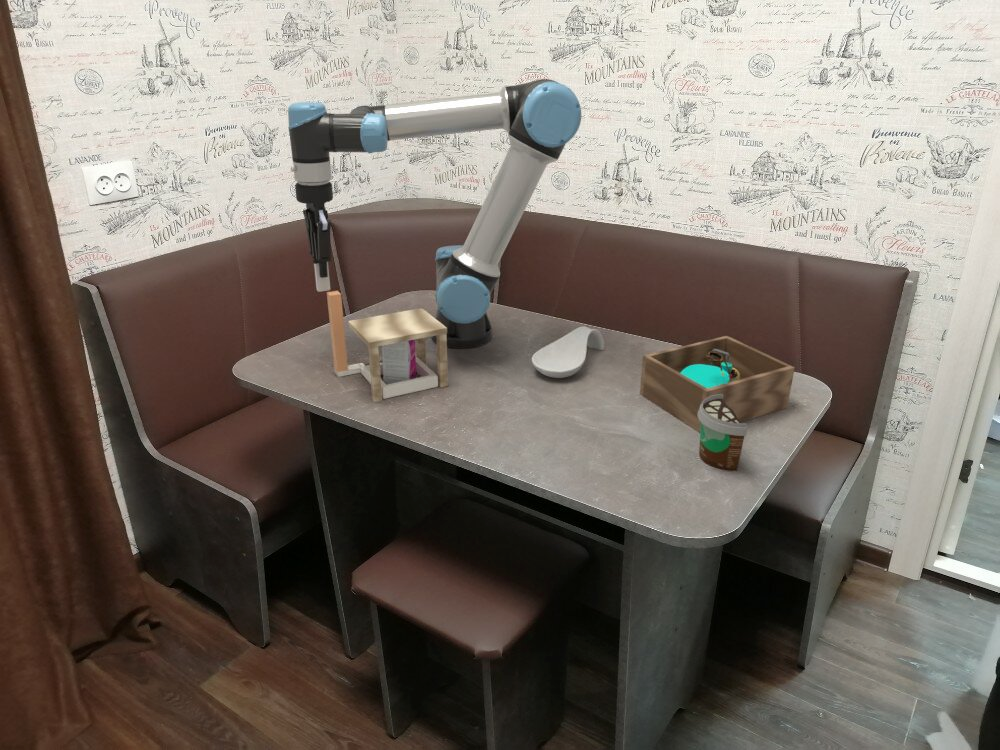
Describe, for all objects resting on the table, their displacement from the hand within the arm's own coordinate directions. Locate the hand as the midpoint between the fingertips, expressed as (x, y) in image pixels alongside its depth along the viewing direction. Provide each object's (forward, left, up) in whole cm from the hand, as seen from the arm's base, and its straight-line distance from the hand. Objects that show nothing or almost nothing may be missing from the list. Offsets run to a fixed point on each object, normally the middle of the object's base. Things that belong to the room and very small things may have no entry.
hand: (323, 289), depth 165 cm
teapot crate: (-64, +56, -18) cm, 87 cm away
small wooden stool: (-10, +17, -18) cm, 27 cm away
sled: (-8, +15, -18) cm, 24 cm away
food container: (-48, +73, -18) cm, 90 cm away
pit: (-8, +7, -18) cm, 21 cm away
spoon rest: (-49, +26, -18) cm, 58 cm away
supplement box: (-10, +17, -18) cm, 27 cm away
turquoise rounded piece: (-64, +57, -18) cm, 88 cm away
